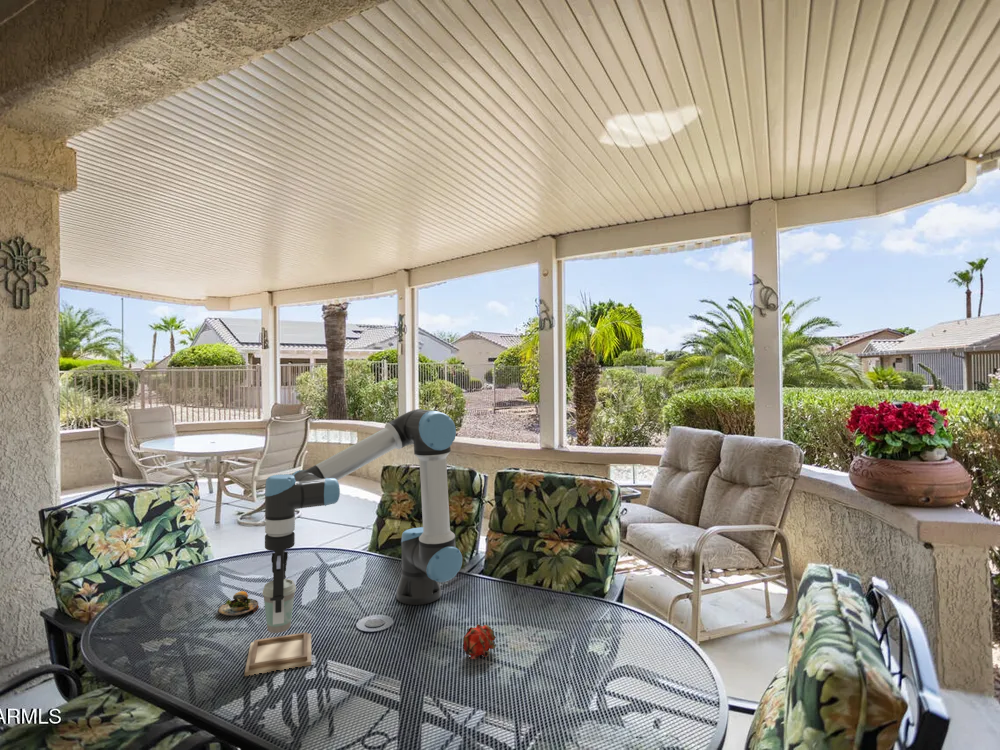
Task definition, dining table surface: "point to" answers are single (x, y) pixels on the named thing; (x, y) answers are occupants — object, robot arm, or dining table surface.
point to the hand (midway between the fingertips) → (279, 615)
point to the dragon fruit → (478, 641)
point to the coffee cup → (288, 605)
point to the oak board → (279, 653)
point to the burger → (239, 605)
